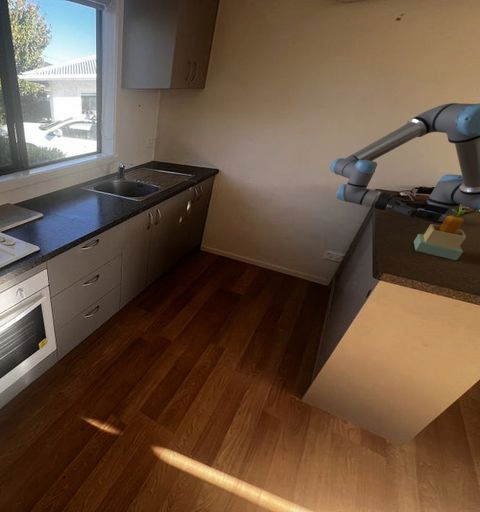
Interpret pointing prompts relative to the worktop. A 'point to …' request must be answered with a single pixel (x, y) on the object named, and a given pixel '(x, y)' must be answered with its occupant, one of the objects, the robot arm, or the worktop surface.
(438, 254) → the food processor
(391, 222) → the worktop surface
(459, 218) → the carrot
